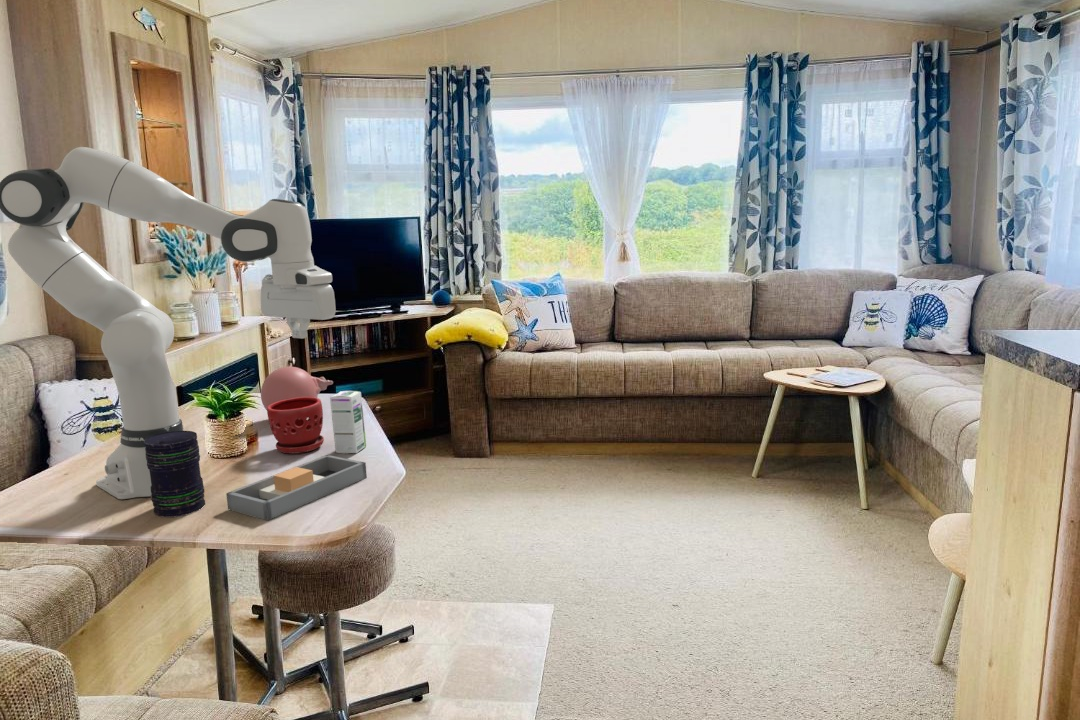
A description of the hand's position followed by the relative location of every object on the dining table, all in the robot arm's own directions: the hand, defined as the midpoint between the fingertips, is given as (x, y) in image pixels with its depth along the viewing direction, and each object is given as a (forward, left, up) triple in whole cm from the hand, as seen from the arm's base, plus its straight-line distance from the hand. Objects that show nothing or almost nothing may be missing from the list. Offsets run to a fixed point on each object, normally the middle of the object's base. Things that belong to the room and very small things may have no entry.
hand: (299, 337), depth 174 cm
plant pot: (-17, +11, -31) cm, 37 cm away
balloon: (-39, +31, -31) cm, 59 cm away
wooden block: (+8, -12, -29) cm, 33 cm away
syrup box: (-4, +16, -31) cm, 35 cm away
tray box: (+8, -11, -31) cm, 34 cm away
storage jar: (-8, -28, -31) cm, 43 cm away
